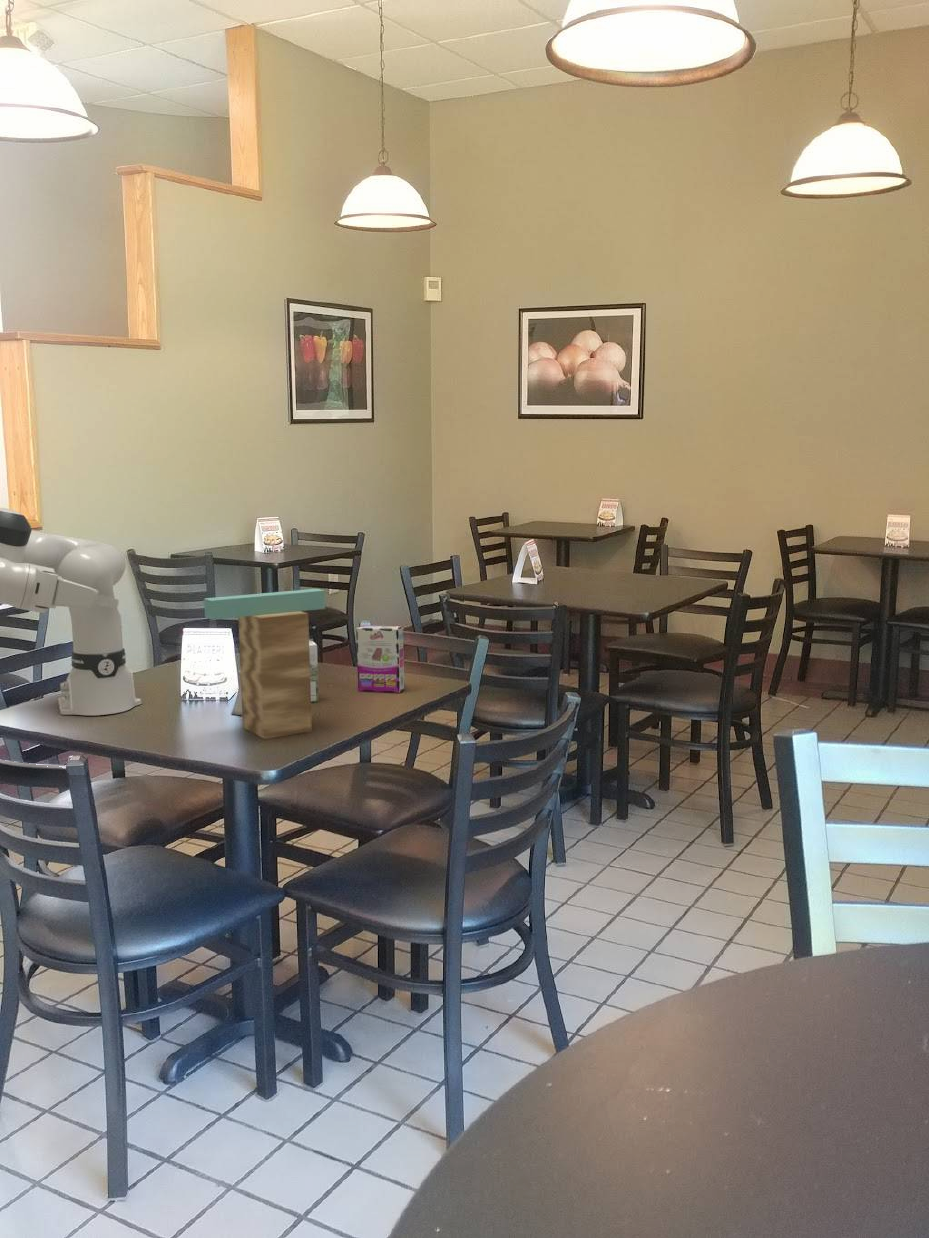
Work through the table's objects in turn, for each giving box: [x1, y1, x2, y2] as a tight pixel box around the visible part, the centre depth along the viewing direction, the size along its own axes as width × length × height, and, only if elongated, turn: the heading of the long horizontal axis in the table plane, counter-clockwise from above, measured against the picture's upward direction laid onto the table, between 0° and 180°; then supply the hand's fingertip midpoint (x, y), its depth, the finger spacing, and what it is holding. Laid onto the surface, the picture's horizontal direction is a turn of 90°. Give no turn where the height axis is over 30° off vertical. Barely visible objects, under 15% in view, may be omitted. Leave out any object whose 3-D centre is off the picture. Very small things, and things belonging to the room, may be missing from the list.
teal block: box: [203, 588, 326, 621], centre depth 234 cm, size 4×26×4 cm, turn 124°
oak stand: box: [237, 611, 313, 740], centre depth 238 cm, size 12×11×26 cm
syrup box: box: [309, 640, 319, 703], centre depth 265 cm, size 6×6×14 cm
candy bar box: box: [355, 625, 406, 694], centre depth 275 cm, size 11×5×16 cm, turn 76°
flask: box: [231, 669, 242, 716], centre depth 254 cm, size 7×7×10 cm
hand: (113, 603), depth 216 cm, fingers open, 8 cm apart
